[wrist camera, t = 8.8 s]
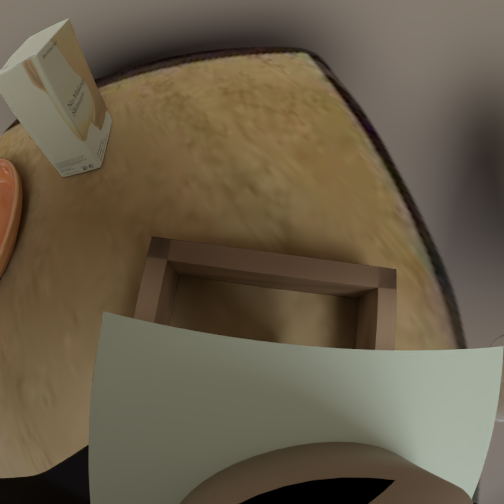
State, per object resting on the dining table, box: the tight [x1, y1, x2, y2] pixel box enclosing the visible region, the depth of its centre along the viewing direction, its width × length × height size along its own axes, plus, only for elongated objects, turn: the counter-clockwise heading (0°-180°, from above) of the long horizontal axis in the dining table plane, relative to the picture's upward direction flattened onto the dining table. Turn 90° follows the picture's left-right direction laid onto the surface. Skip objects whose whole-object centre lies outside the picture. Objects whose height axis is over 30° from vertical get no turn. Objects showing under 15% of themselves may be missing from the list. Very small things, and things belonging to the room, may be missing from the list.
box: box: [134, 237, 396, 350], centre depth 14 cm, size 14×14×3 cm
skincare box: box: [0, 18, 112, 177], centre depth 16 cm, size 6×4×12 cm
